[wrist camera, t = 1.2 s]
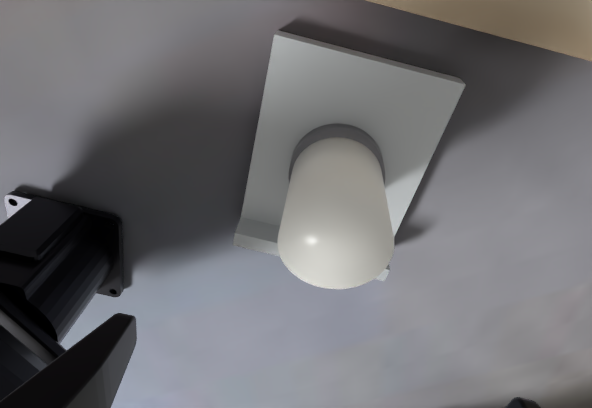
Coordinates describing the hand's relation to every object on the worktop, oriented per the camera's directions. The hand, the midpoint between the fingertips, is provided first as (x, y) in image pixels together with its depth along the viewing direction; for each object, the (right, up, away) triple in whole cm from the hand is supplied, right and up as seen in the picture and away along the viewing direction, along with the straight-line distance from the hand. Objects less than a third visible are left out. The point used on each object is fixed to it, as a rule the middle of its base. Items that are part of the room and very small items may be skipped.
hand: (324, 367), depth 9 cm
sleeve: (+1, +6, +9) cm, 11 cm away
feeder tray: (+1, +6, +10) cm, 12 cm away
